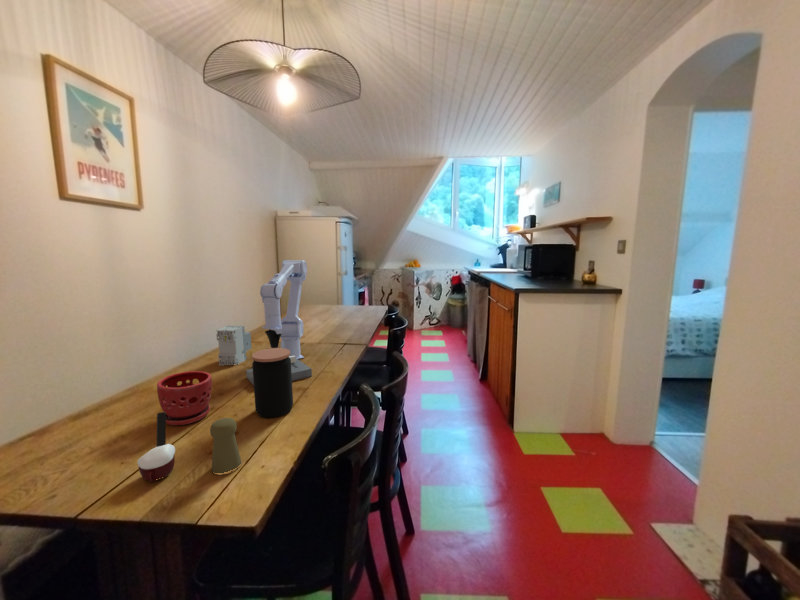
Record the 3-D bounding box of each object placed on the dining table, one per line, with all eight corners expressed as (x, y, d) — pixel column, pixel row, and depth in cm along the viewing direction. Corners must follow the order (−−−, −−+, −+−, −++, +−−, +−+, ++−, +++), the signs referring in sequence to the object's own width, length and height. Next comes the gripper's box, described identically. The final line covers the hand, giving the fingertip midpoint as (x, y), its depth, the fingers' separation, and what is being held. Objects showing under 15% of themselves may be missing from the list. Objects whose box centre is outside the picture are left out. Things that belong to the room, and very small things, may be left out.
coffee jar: (300, 405, 105) (297, 349, 102) (277, 422, 95) (273, 360, 92) (272, 400, 108) (269, 346, 105) (247, 415, 98) (243, 356, 95)
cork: (218, 458, 78) (214, 414, 76) (245, 457, 79) (242, 413, 77) (206, 476, 72) (201, 428, 71) (235, 474, 73) (231, 427, 71)
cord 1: (250, 370, 135) (250, 366, 135) (254, 369, 136) (254, 365, 136) (255, 375, 129) (254, 371, 129) (259, 374, 130) (259, 370, 130)
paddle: (286, 362, 133) (286, 357, 133) (294, 361, 135) (294, 355, 135) (287, 363, 132) (287, 358, 132) (295, 362, 134) (295, 356, 134)
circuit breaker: (254, 355, 154) (251, 323, 151) (235, 365, 140) (233, 330, 137) (238, 354, 154) (236, 322, 152) (219, 365, 140) (215, 330, 138)
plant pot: (157, 434, 88) (152, 391, 87) (165, 413, 100) (160, 374, 98) (214, 422, 94) (210, 382, 93) (215, 403, 106) (211, 367, 104)
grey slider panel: (246, 377, 127) (246, 369, 127) (298, 366, 139) (297, 358, 139) (257, 389, 116) (256, 381, 116) (311, 376, 128) (311, 368, 128)
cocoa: (156, 491, 68) (149, 438, 66) (128, 488, 69) (120, 436, 66) (189, 460, 78) (184, 413, 75) (164, 458, 78) (158, 411, 76)
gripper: (256, 312, 133) (258, 345, 136) (267, 318, 122) (270, 354, 124) (274, 310, 138) (276, 342, 140) (287, 316, 126) (288, 351, 128)
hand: (274, 348), depth 132 cm, fingers closed
